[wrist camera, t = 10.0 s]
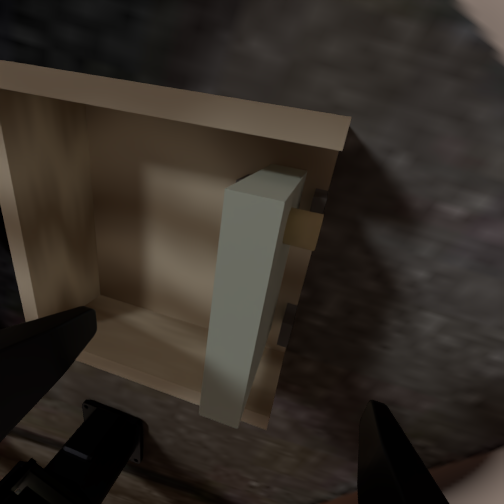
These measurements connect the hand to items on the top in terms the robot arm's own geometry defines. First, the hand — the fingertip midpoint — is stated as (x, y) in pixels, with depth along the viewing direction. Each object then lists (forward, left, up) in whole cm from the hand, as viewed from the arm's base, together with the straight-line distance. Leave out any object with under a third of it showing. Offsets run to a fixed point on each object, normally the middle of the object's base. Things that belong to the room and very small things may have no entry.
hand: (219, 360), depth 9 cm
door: (0, 0, -8) cm, 9 cm away
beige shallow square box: (0, +6, -10) cm, 11 cm away
